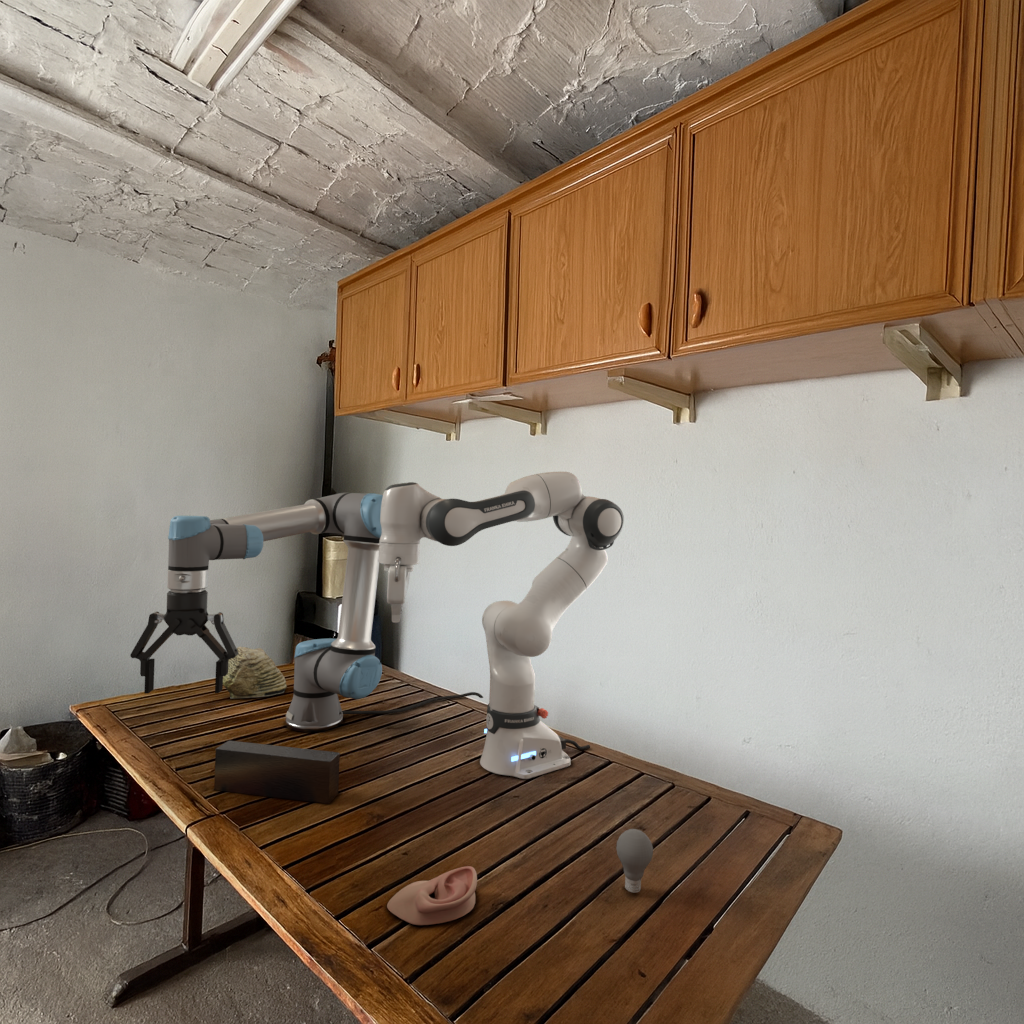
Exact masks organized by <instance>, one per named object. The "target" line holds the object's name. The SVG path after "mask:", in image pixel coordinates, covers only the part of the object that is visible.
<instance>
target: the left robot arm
mask: <svg viewBox="0 0 1024 1024" xmlns="http://www.w3.org/2000/svg"><path fill="white" fill-rule="evenodd" d="M382 497H383V494H379V493H374V492H372V493H371V492H369V493H367V492H366V493H365V492H339V493H335V494H330V495H327V496H322V497H317V498H312V499H308V500H306V501H305V503H304V504H299V505H293V506H287V507H281V508H275V509H269V510H264V511H257V512H252V513H251V512H250V513H245V514H239V515H235V516H228V517H222V518H216V519H210V517H208V516H204V515H175V516H173V517H172V518H171V519H170V522H169V528H168V529H169V530H168V536H167V539H168V558H167V559H168V561H167V563H168V564H167V565H168V566H167V589H168V590H169V591H168V592H167V593H166V612H165V613H160V611H154V612H152V613H150V614H149V615H148V622H147V624H146V627H145V628H144V630H143V632H142V634H141V635H140V637H139V639H138V641H137V642H136V644H135V646H134V647H133V649H132V650H131V653H130V655H129V656H130V658H131V659H137V660H139V663H140V667H139V668H140V669H139V670H140V671H139V673H140V677H144V689H143V690H144V691H143V692H144V694H147V695H148V694H150V693H151V692H153V691H154V689H155V658H151V657H152V656H153V655H154V654H155V653H156V652H157V651H158V650H159V649H160V648H161V647H162V646H163V644H164V643H166V641H167V640H168V639H169V638H171V636H172V635H173V634H174V635H176V636H183V635H186V636H194V635H196V636H197V637H199V639H201V640H202V641H203V642H204V643H205V644H206V646H207V647H208V648H209V649H210V650H211V651H212V652H213V654H214V655H215V656H216V657H217V661H216V662H215V682H214V683H215V684H214V694H220V693H221V691H223V689H224V688H223V687H224V685H223V677H224V676H226V675H227V673H228V662H229V659H231V658H235V657H236V656H237V655H238V650H237V648H238V647H237V646H236V645H235V642H234V640H233V638H232V637H231V634H230V632H229V630H228V628H227V626H226V624H225V618H224V613H223V612H222V611H221V612H217V613H213V614H209V613H208V596H209V595H208V591H207V590H206V589H207V588H208V587H209V565H210V561H217V560H218V561H219V560H240V559H241V560H246V559H251V558H256V557H259V555H260V554H261V553H262V551H263V548H264V542H268V541H273V540H277V539H282V538H287V537H292V536H297V535H302V534H306V533H311V534H312V535H319V534H339V535H340V534H341V535H343V543H344V545H346V546H347V557H346V564H345V565H346V566H345V575H344V580H343V590H342V597H341V599H342V600H341V607H340V616H339V624H338V625H339V626H338V633H337V638H331V637H329V638H317V639H316V638H315V639H308V640H304V641H300V642H299V643H298V644H297V645H296V646H295V650H294V651H295V652H294V655H293V658H294V670H293V671H294V672H293V695H292V696H293V697H292V699H291V702H290V704H289V708H288V710H287V711H286V714H285V726H286V728H287V729H289V730H291V731H294V732H295V731H296V732H301V733H316V732H325V731H329V730H332V729H335V728H337V727H339V726H340V725H342V723H343V722H344V715H390V714H391V715H392V714H397V713H403V712H407V711H410V710H413V709H415V708H419V707H423V706H424V705H427V704H430V703H433V702H437V701H444V700H451V699H461V698H465V697H470V696H476V697H478V698H479V699H483V698H484V696H483V695H482V694H481V693H479V692H476V691H470V692H466V693H462V694H453V695H444V696H443V695H442V696H437V697H434V698H429V699H427V700H424V701H421V702H418V703H414V704H412V705H409V706H405V707H402V708H396V709H389V710H343V709H342V706H341V702H340V699H339V695H340V696H342V697H343V698H346V699H354V700H359V699H364V698H366V697H368V696H369V695H370V694H372V693H373V691H374V690H376V688H377V687H378V685H379V683H380V681H381V678H382V674H383V665H382V662H380V661H381V660H380V659H379V658H378V657H377V656H376V644H374V642H373V641H372V632H373V631H372V630H373V622H374V614H375V605H376V597H377V588H378V587H377V586H378V578H379V571H380V563H379V541H380V537H381V533H382V528H381V524H380V514H381V503H382ZM163 621H164V622H165V623H166V625H167V626H168V627H167V628H166V629H165V630H164V631H163V632H162V634H161V635H159V636H158V637H157V639H156V640H155V641H154V642H153V643H152V644H151V645H150V646H149V647H148V648H147V649H146V650H145V648H146V646H148V643H149V641H150V639H151V638H152V637H153V634H154V632H155V631H156V629H157V628H158V625H159V624H161V623H162V622H163ZM209 621H210V623H211V625H214V628H215V631H216V632H217V634H218V637H219V638H220V641H221V643H222V644H220V642H219V641H218V639H216V638H215V636H214V635H213V634H212V633H211V631H210V629H209V628H208V627H207V626H206V624H207V623H208V622H209ZM223 646H224V647H223ZM144 650H145V651H144Z"/></svg>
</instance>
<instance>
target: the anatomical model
mask: <svg viewBox="0 0 1024 1024" xmlns="http://www.w3.org/2000/svg"><path fill="white" fill-rule="evenodd" d="M477 885H478V874H477V871H476V869H475V867H473V866H470V865H469V866H468V865H467V866H466V865H465V866H461V867H457V868H454V869H451V870H449V871H446V872H444V873H441V874H440V875H438V876H435V877H434V878H431V879H430V880H419V881H414V882H411V883H410V884H407V885H406V886H404V887H403V888H401V889H400V890H399V891H397V892H396V893H395V894H394V895H393V896H392V897H391V898H390V899H389V901H388V902H387V905H386V908H387V910H388V911H390V913H391V914H392V915H394V916H395V917H397V918H399V919H401V920H402V921H404V922H406V923H409V924H410V925H411V924H412V925H414V926H429V925H436V924H443V923H447V922H452V921H455V920H457V919H459V918H462V917H464V916H466V915H467V914H468V913H470V912H471V911H472V910H473V909H474V907H475V904H476V892H475V891H476V889H477Z"/></svg>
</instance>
